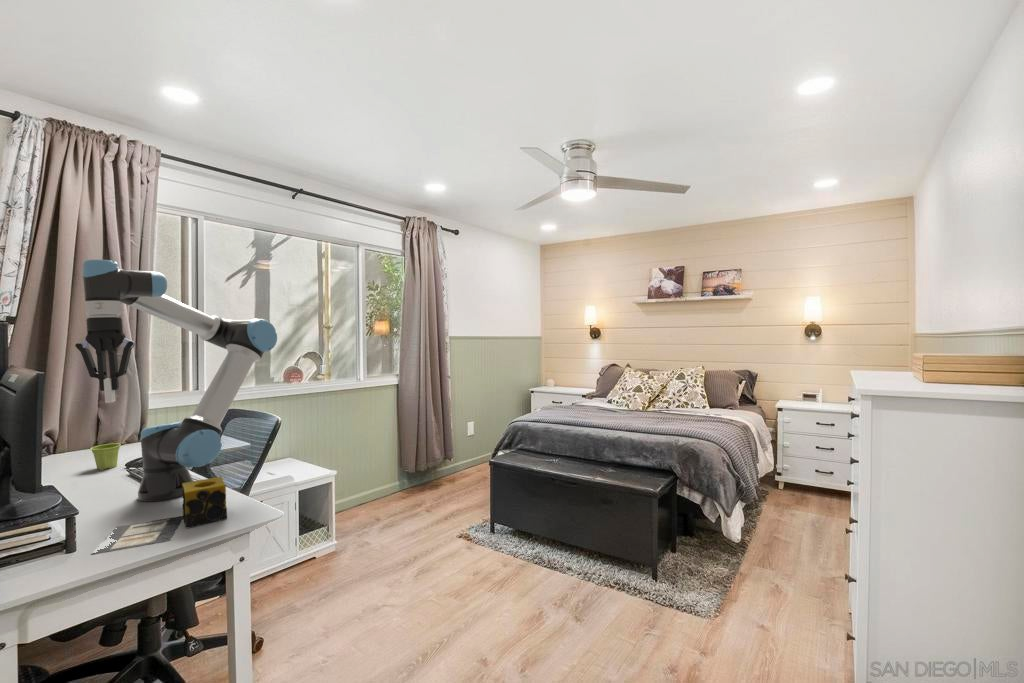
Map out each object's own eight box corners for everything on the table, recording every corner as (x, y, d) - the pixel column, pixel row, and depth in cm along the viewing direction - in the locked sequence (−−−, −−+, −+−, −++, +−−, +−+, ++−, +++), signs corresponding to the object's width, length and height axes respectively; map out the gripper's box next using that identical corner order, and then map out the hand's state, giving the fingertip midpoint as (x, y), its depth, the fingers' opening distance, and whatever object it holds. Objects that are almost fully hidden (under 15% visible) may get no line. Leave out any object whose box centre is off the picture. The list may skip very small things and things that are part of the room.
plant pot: (128, 463, 200) (126, 442, 199) (110, 470, 190) (109, 448, 190) (104, 464, 199) (102, 443, 199) (85, 471, 190) (83, 449, 189)
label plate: (116, 526, 134) (116, 526, 134) (185, 515, 140) (185, 515, 140) (90, 554, 117) (90, 554, 117) (169, 540, 124) (169, 540, 124)
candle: (182, 517, 138) (180, 483, 138) (223, 508, 144) (221, 475, 144) (184, 529, 130) (182, 492, 130) (227, 519, 136) (226, 484, 136)
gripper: (67, 317, 127) (74, 406, 128) (128, 315, 132) (134, 401, 133) (79, 317, 134) (86, 402, 135) (137, 316, 139) (143, 398, 140)
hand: (110, 402), depth 134 cm, fingers closed
